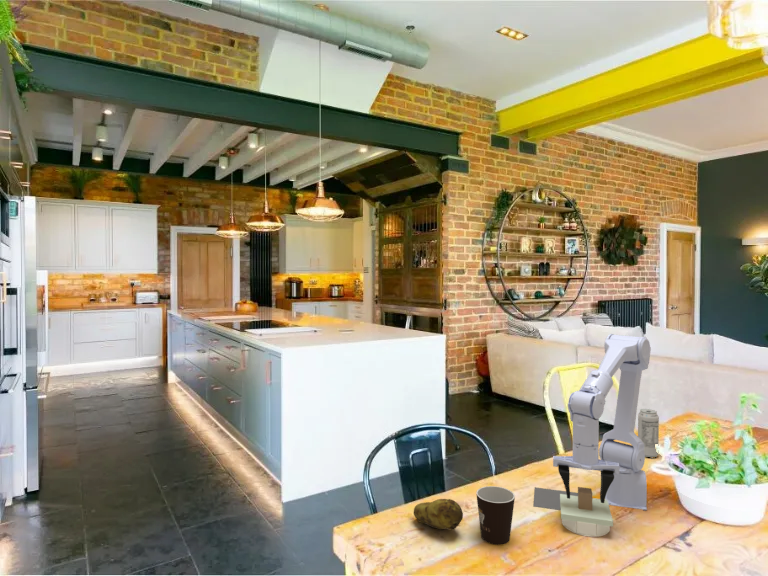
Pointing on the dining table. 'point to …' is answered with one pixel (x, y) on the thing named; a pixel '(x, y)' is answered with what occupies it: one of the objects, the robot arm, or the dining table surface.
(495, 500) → the coffee mug
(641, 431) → the energy drink can
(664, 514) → the dining table surface
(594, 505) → the lid
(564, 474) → the robot arm
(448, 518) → the potato
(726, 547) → the dining table surface
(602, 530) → the dish
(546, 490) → the mat
